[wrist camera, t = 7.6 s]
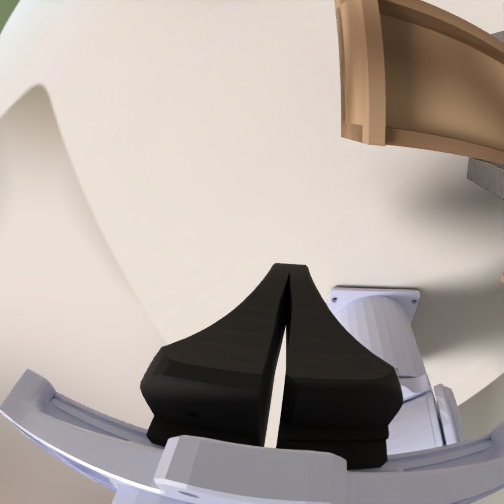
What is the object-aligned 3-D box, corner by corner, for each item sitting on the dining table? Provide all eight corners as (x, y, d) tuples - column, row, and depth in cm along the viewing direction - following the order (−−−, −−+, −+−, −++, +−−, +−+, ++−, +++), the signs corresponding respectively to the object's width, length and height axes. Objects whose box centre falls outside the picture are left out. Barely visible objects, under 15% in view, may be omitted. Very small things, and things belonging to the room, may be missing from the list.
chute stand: (481, 181, 16) (522, 205, 11) (466, 178, 16) (507, 202, 11) (483, 48, 11) (525, 39, 6) (467, 41, 11) (508, 29, 6)
